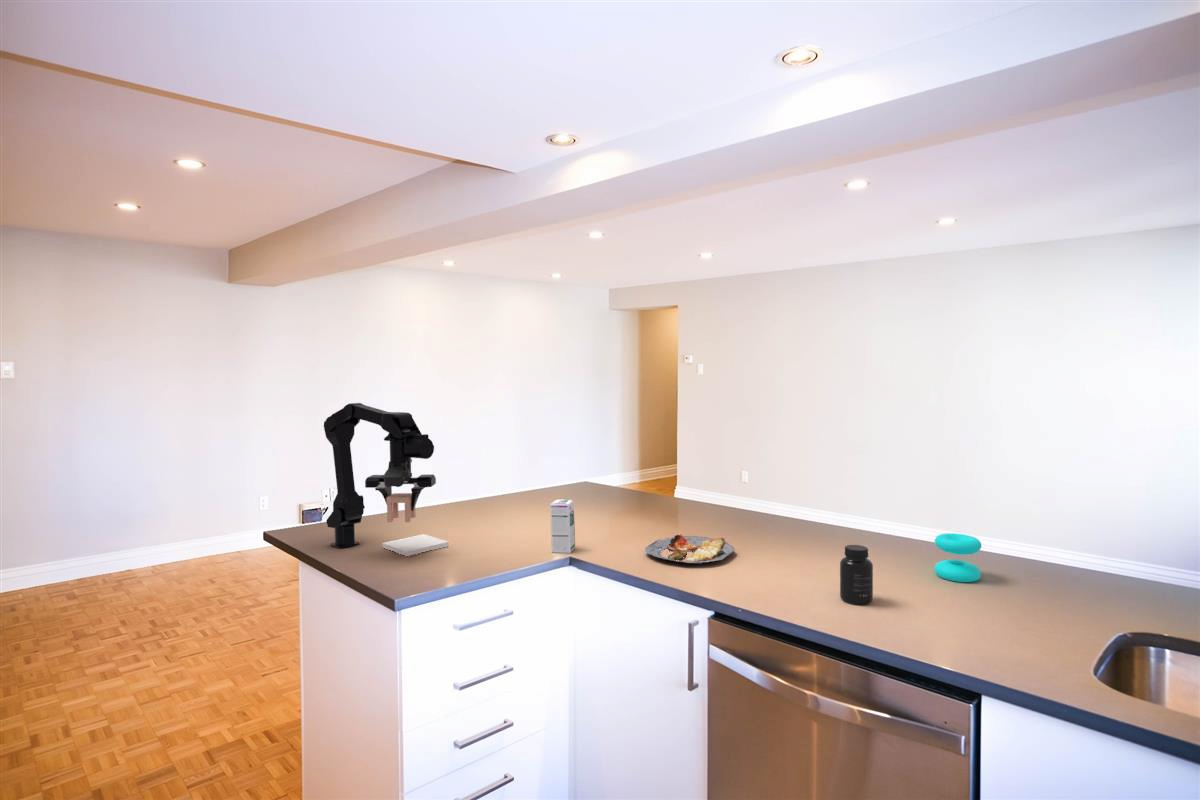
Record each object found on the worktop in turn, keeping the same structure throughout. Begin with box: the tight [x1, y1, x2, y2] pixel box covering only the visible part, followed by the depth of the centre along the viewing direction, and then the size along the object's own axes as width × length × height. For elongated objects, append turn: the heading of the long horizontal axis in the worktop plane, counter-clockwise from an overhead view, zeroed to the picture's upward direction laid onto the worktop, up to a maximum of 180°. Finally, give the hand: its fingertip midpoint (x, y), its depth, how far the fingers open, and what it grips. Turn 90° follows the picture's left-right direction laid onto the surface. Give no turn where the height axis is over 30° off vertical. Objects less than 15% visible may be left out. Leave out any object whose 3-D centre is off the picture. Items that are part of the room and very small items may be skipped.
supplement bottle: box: [839, 544, 874, 606], centre depth 142 cm, size 7×7×12 cm
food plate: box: [644, 534, 736, 565], centre depth 180 cm, size 25×23×4 cm
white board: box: [381, 533, 450, 557], centre depth 191 cm, size 14×14×2 cm
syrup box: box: [549, 498, 576, 554], centre depth 186 cm, size 6×6×14 cm
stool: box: [385, 492, 417, 523], centre depth 183 cm, size 6×6×7 cm
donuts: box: [934, 532, 982, 583], centre depth 157 cm, size 10×10×10 cm
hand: (401, 510), depth 183 cm, fingers closed on stool, 6 cm apart
